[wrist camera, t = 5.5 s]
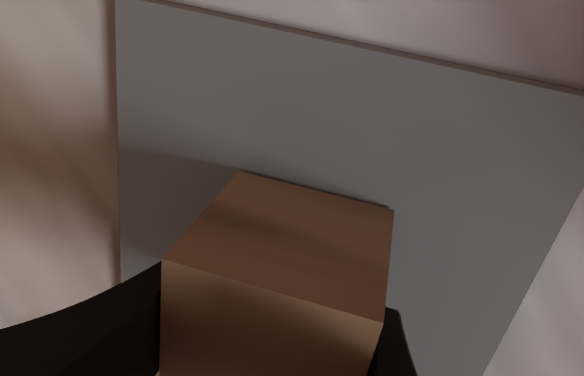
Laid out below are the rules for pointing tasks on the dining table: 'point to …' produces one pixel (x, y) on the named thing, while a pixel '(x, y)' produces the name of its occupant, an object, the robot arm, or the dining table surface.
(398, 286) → the slate trivet
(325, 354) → the walnut cube
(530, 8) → the dining table surface
